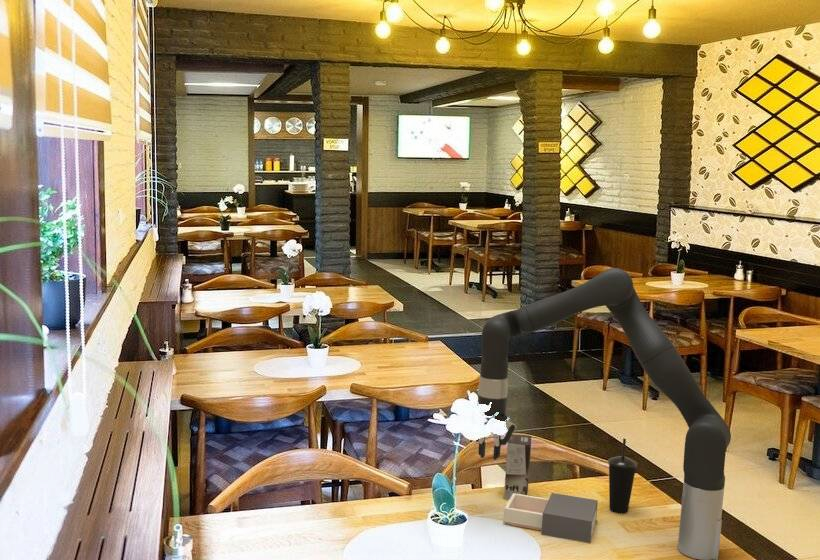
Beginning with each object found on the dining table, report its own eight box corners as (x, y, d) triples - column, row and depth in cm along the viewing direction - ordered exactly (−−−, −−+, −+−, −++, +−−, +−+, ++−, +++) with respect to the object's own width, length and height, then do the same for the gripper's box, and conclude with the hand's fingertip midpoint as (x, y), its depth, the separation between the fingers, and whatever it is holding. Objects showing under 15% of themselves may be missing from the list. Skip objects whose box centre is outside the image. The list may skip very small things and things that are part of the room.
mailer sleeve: (596, 520, 213) (597, 500, 213) (590, 543, 200) (591, 521, 199) (550, 512, 217) (551, 492, 216) (541, 534, 203) (542, 512, 203)
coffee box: (526, 502, 224) (530, 445, 222) (503, 499, 225) (506, 442, 223) (528, 489, 233) (532, 435, 231) (506, 487, 234) (509, 432, 232)
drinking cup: (621, 518, 216) (627, 445, 213) (598, 508, 221) (604, 437, 219) (639, 511, 220) (645, 440, 218) (615, 502, 226) (621, 432, 224)
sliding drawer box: (595, 522, 212) (596, 507, 211) (590, 539, 201) (592, 523, 201) (512, 507, 219) (513, 493, 218) (503, 523, 208) (504, 508, 208)
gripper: (522, 393, 213) (518, 457, 215) (470, 386, 217) (466, 449, 219) (516, 400, 205) (512, 466, 208) (462, 393, 210) (459, 458, 212)
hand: (488, 457), depth 213 cm, fingers open, 3 cm apart
